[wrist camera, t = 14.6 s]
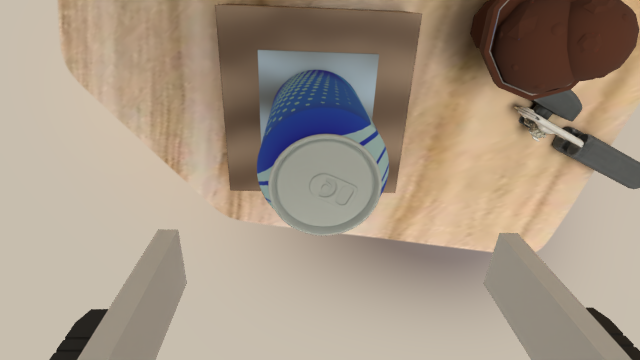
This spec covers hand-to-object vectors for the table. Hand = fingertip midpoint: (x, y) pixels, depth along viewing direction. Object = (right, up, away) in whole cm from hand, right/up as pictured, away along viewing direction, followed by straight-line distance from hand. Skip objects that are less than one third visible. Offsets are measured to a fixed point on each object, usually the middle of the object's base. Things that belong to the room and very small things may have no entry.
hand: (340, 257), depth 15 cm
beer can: (-1, +10, +20) cm, 23 cm away
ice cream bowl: (+18, +20, +23) cm, 35 cm away
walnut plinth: (-1, +13, +26) cm, 29 cm away
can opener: (+30, +9, +29) cm, 43 cm away
